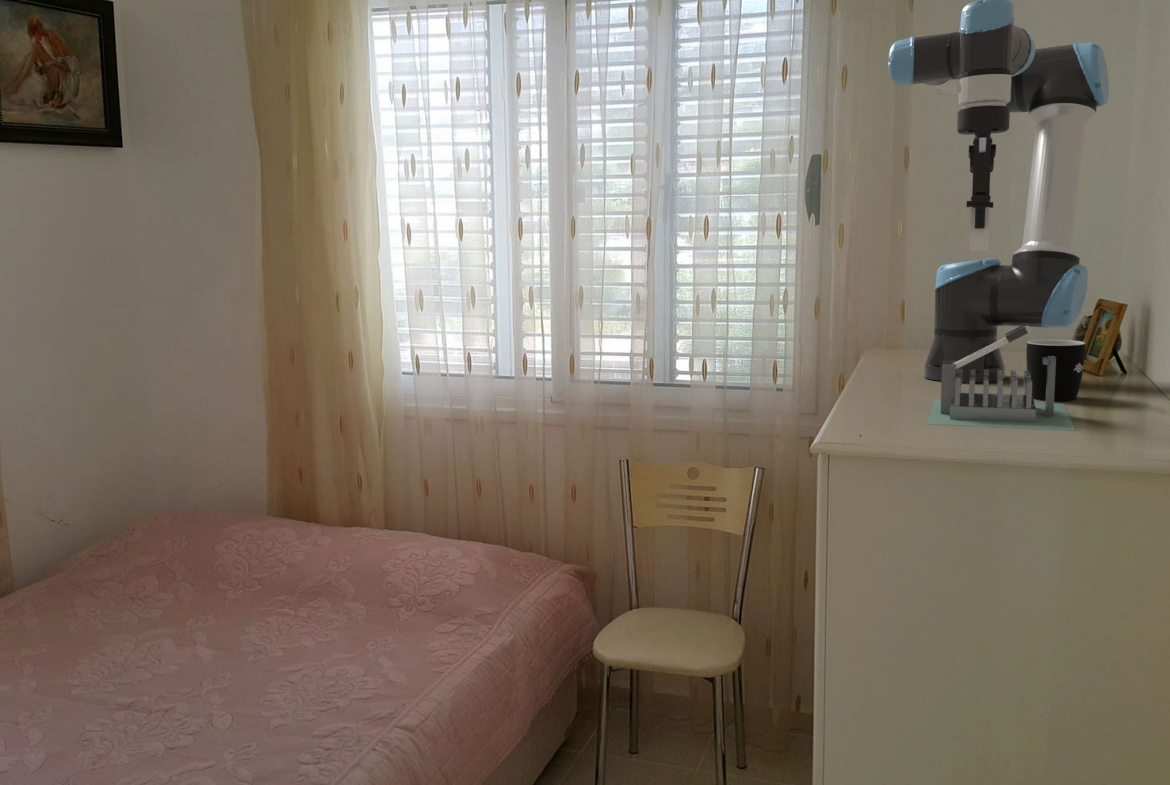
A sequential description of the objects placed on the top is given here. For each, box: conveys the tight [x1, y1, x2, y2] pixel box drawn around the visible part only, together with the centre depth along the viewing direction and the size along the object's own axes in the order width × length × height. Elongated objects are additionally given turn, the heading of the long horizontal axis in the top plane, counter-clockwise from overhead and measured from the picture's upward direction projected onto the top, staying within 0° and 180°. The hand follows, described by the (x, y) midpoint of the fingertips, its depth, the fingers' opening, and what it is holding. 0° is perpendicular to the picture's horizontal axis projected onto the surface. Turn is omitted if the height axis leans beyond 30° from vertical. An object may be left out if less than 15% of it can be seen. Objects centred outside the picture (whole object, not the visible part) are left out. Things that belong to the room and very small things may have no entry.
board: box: [927, 398, 1076, 432], centre depth 159 cm, size 24×20×1 cm
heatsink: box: [940, 356, 1056, 423], centre depth 158 cm, size 14×16×9 cm
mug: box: [1025, 339, 1086, 403], centre depth 172 cm, size 12×9×10 cm
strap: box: [953, 325, 1032, 369], centre depth 158 cm, size 5×14×1 cm, turn 69°
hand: (978, 250), depth 160 cm, fingers open, 11 cm apart
